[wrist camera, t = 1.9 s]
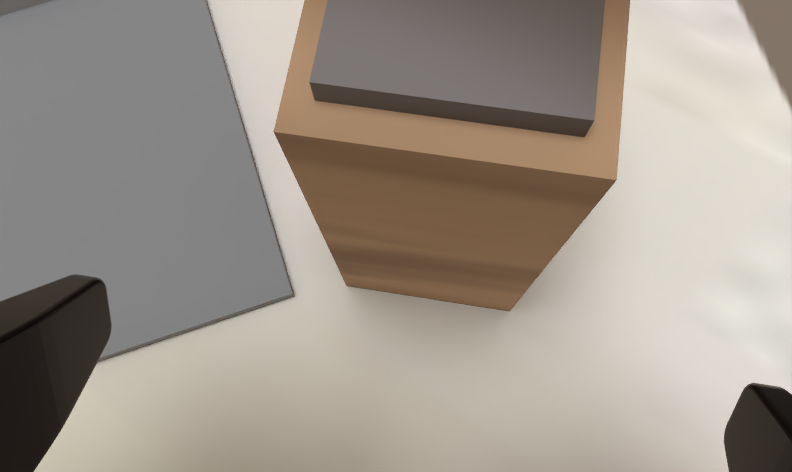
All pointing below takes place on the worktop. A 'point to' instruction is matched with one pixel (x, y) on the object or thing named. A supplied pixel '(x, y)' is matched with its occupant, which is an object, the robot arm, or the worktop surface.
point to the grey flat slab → (130, 166)
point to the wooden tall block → (453, 136)
